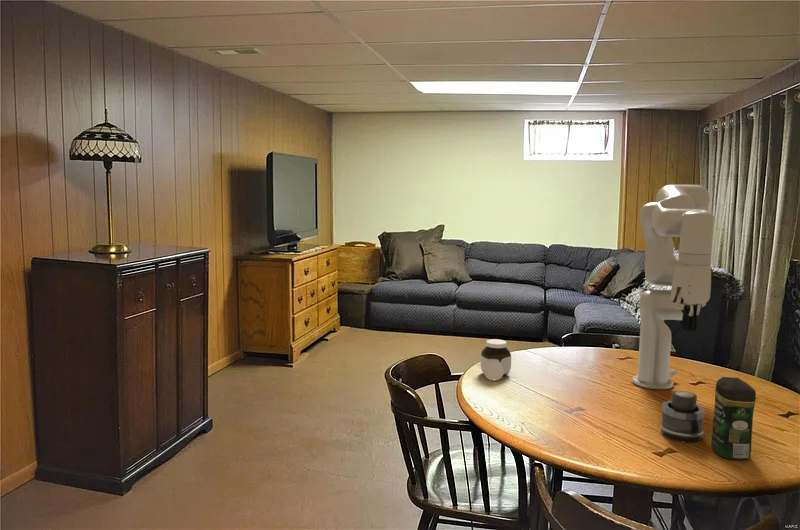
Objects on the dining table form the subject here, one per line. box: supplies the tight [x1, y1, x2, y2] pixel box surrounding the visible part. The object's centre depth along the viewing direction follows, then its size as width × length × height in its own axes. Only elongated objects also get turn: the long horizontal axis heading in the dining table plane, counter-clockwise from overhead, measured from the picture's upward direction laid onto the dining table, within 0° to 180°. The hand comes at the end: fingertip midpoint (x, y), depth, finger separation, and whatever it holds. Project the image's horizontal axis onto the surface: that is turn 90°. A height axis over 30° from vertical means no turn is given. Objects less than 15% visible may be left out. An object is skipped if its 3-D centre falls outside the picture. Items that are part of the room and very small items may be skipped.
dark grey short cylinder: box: [670, 390, 698, 412], centre depth 162 cm, size 6×6×5 cm
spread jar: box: [479, 338, 512, 382], centre depth 209 cm, size 12×11×12 cm
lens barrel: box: [659, 399, 706, 443], centre depth 162 cm, size 10×10×8 cm
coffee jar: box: [710, 376, 757, 461], centre depth 151 cm, size 10×8×19 cm
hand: (688, 329), depth 159 cm, fingers closed
